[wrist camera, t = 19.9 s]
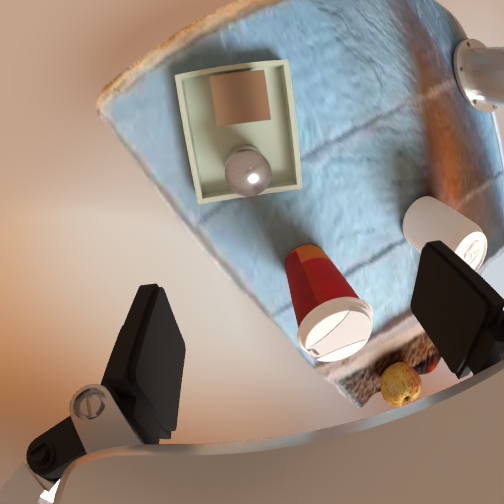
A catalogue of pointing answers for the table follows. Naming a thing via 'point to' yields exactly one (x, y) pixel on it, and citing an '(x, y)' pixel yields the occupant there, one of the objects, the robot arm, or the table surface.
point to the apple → (400, 384)
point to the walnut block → (240, 97)
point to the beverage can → (444, 230)
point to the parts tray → (239, 131)
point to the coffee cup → (325, 306)
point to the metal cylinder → (247, 170)
